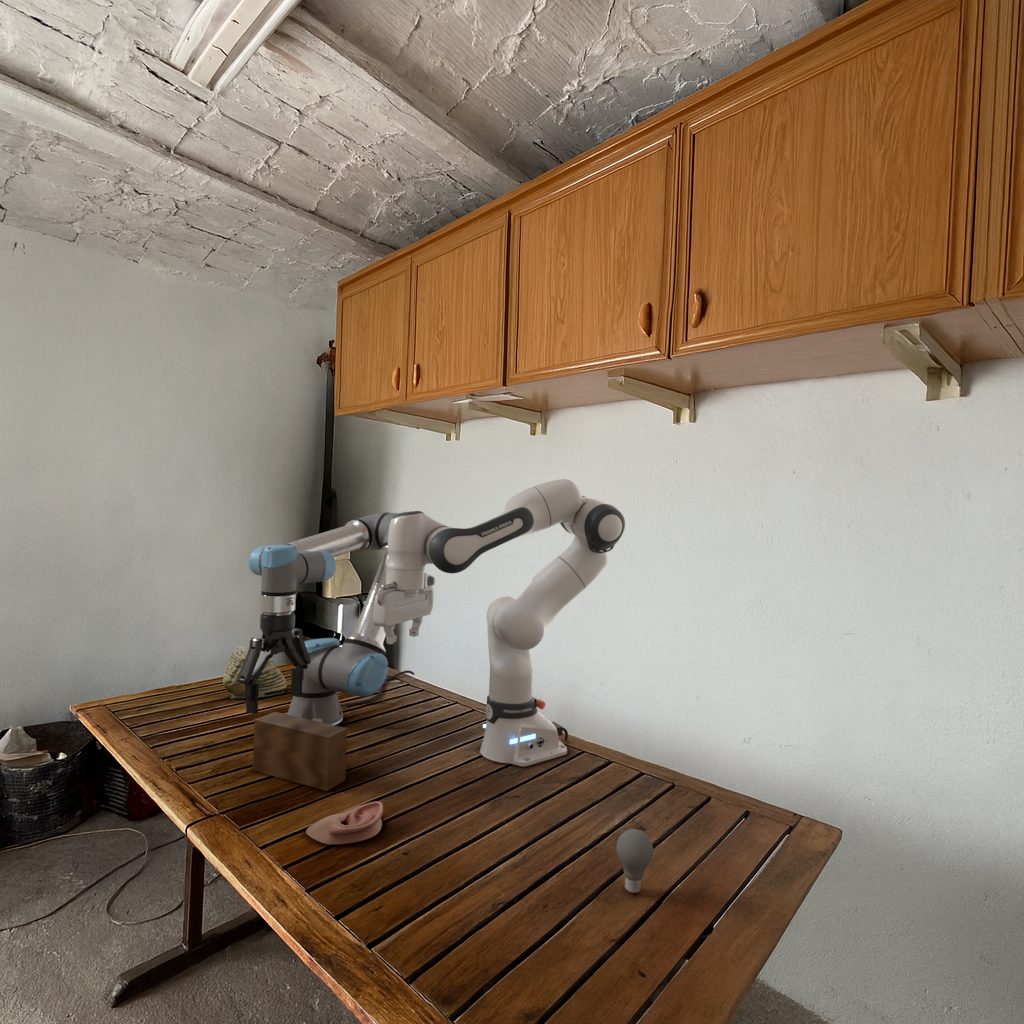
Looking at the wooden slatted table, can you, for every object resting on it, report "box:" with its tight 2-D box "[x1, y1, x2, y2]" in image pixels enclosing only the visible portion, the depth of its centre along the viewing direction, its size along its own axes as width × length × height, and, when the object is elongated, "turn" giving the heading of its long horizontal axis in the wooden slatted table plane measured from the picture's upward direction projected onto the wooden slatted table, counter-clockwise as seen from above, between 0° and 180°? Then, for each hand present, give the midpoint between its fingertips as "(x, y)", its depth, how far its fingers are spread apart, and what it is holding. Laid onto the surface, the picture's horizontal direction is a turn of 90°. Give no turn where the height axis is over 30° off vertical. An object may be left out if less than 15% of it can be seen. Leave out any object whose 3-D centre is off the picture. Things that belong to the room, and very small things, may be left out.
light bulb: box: [615, 828, 654, 894], centre depth 106 cm, size 6×6×10 cm
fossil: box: [222, 646, 288, 699], centre depth 198 cm, size 9×18×15 cm, turn 132°
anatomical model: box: [305, 800, 384, 846], centre depth 121 cm, size 13×4×12 cm
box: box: [252, 711, 348, 792], centre depth 143 cm, size 21×6×12 cm, turn 66°
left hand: (275, 704), depth 146 cm, fingers open, 13 cm apart
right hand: (402, 639), depth 148 cm, fingers open, 8 cm apart
